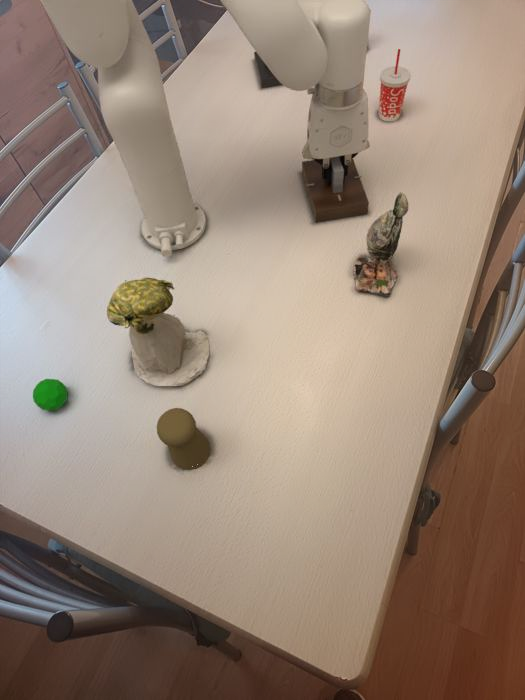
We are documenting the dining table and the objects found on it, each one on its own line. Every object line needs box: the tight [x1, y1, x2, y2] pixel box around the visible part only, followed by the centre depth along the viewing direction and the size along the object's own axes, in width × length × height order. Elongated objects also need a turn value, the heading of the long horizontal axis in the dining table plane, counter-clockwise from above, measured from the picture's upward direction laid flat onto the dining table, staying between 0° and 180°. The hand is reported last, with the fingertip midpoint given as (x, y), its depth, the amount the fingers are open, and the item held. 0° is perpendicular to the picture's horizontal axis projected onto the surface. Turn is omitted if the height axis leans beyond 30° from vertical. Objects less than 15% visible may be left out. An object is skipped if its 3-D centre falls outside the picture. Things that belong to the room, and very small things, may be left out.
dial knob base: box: [301, 158, 370, 224], centre depth 97 cm, size 14×11×3 cm
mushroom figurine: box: [106, 277, 210, 387], centre depth 75 cm, size 12×13×18 cm
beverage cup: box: [378, 48, 412, 122], centre depth 103 cm, size 6×6×14 cm
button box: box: [253, 51, 283, 89], centre depth 119 cm, size 12×10×4 cm
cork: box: [156, 407, 212, 471], centre depth 69 cm, size 6×6×11 cm
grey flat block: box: [330, 156, 344, 193], centre depth 94 cm, size 6×2×5 cm, turn 8°
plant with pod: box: [352, 191, 409, 298], centre depth 79 cm, size 8×11×20 cm
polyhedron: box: [32, 378, 68, 411], centre depth 78 cm, size 5×5×5 cm
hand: (334, 178), depth 96 cm, fingers closed on grey flat block, 2 cm apart
